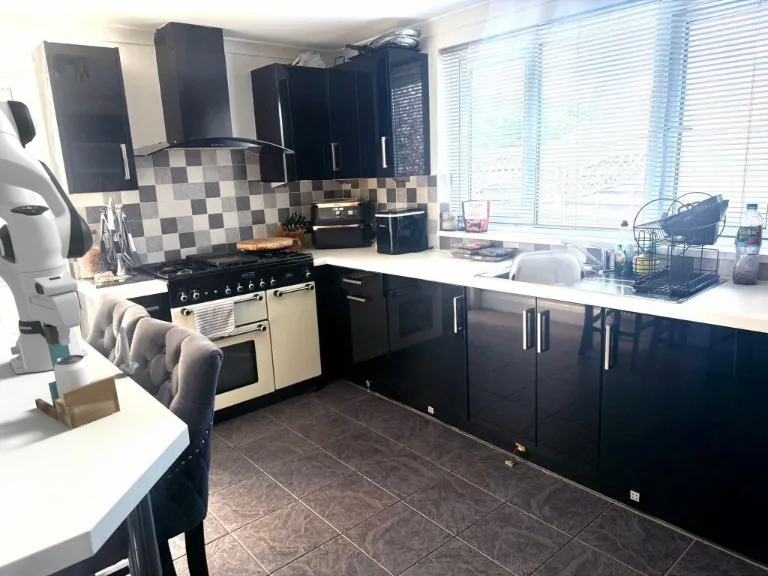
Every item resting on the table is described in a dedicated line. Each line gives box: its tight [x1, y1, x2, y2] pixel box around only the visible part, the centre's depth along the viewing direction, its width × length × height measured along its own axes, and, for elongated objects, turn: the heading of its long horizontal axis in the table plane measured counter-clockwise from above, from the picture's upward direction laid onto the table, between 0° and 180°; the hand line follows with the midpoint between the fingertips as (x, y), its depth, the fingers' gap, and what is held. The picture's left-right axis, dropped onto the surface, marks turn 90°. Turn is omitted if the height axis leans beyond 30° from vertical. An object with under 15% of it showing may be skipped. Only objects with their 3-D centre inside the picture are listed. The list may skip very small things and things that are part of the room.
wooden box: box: [34, 375, 121, 430], centre depth 121 cm, size 20×10×8 cm, turn 51°
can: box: [53, 355, 91, 401], centre depth 120 cm, size 6×6×12 cm
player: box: [43, 324, 70, 407], centre depth 122 cm, size 3×6×19 cm, turn 141°
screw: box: [118, 326, 140, 376], centre depth 141 cm, size 13×5×5 cm
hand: (58, 341), depth 120 cm, fingers open, 5 cm apart
